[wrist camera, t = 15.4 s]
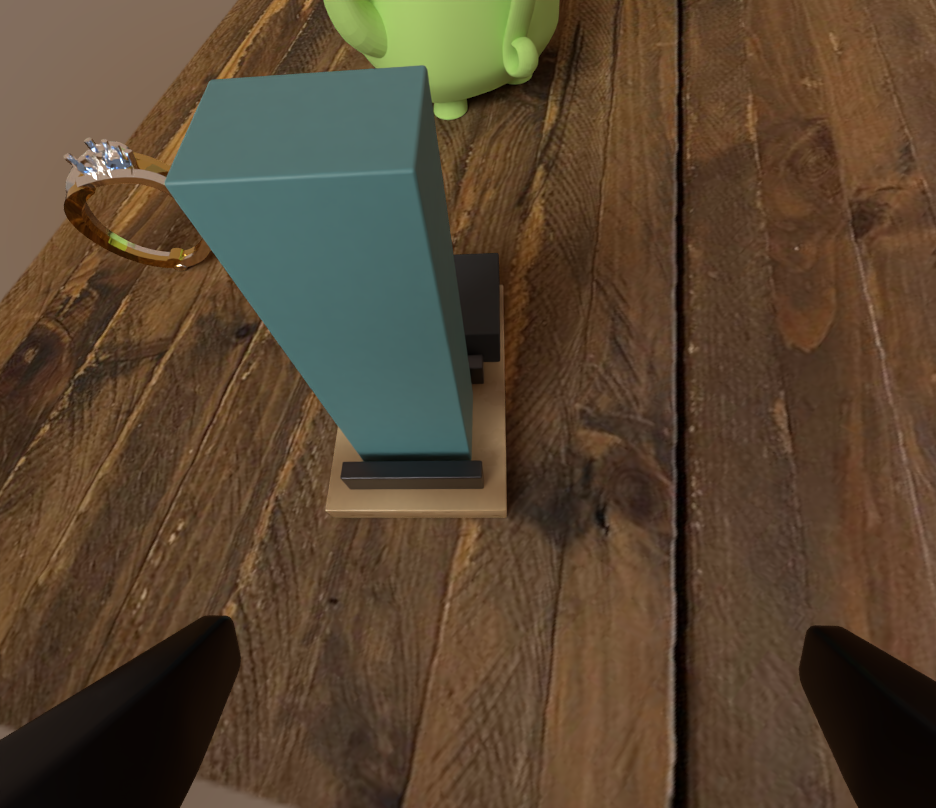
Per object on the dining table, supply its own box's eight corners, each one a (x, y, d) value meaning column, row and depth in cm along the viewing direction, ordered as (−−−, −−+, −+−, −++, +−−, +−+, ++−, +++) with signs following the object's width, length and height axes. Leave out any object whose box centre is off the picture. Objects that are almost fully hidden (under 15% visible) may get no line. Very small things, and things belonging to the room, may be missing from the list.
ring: (242, 242, 32) (166, 122, 25) (232, 281, 30) (148, 165, 23) (137, 250, 32) (33, 134, 25) (122, 289, 31) (7, 176, 24)
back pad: (471, 461, 23) (415, 170, 9) (362, 462, 23) (161, 183, 10) (473, 393, 24) (426, 63, 11) (371, 395, 25) (209, 78, 11)
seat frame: (507, 518, 22) (506, 493, 19) (333, 518, 23) (304, 494, 20) (503, 298, 28) (502, 252, 25) (364, 303, 29) (346, 258, 26)
